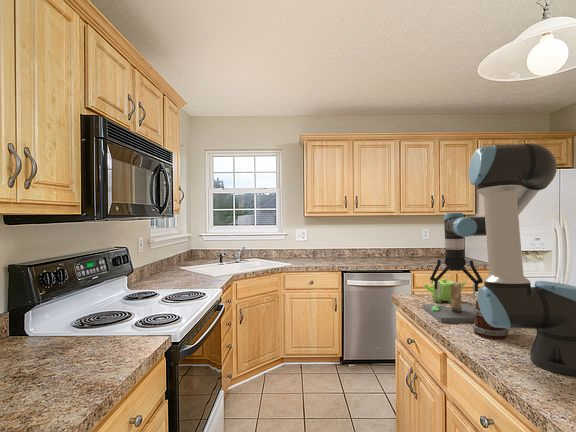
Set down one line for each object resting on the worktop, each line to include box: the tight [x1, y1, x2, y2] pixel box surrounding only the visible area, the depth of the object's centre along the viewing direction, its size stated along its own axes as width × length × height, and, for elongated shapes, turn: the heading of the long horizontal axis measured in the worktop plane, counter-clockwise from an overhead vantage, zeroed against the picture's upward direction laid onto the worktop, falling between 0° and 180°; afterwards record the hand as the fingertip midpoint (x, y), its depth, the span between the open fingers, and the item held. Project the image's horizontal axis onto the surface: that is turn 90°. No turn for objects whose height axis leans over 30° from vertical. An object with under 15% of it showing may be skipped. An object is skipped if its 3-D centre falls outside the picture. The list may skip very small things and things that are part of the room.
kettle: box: [423, 278, 467, 304], centre depth 174 cm, size 15×14×11 cm
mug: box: [471, 299, 510, 340], centre depth 127 cm, size 12×14×15 cm
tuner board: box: [422, 303, 475, 324], centre depth 151 cm, size 22×20×3 cm
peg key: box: [434, 281, 463, 313], centre depth 151 cm, size 11×7×12 cm, turn 51°
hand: (456, 298), depth 149 cm, fingers open, 13 cm apart
